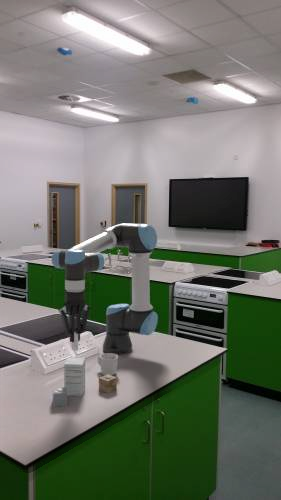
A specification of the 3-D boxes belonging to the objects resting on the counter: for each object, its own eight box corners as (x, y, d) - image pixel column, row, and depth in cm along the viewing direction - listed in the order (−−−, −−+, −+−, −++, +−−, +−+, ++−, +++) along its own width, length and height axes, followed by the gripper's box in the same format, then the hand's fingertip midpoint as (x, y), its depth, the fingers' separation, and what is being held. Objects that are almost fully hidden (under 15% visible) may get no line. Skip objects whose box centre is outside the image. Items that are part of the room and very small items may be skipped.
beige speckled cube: (107, 385, 178) (107, 373, 178) (116, 389, 175) (116, 377, 174) (98, 389, 174) (98, 377, 174) (107, 393, 171) (107, 380, 170)
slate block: (66, 399, 165) (66, 386, 164) (67, 405, 160) (67, 392, 160) (52, 400, 164) (52, 387, 163) (53, 406, 159) (53, 393, 158)
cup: (91, 372, 192) (91, 354, 191) (105, 367, 198) (105, 350, 197) (108, 379, 185) (108, 360, 184) (121, 373, 191) (121, 356, 190)
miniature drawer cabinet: (67, 387, 176) (67, 357, 174) (85, 388, 176) (85, 357, 174) (63, 395, 168) (63, 363, 167) (82, 396, 168) (82, 364, 167)
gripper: (85, 287, 174) (85, 344, 177) (55, 290, 167) (55, 349, 170) (94, 290, 168) (94, 349, 171) (63, 293, 161) (63, 355, 163)
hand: (74, 349), depth 170 cm, fingers closed
